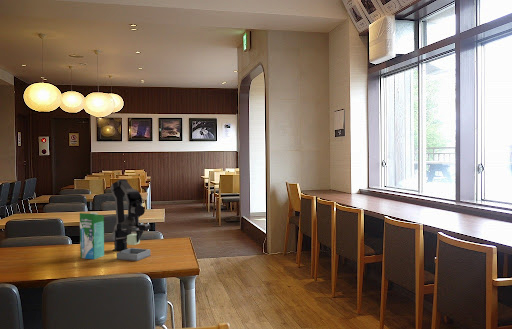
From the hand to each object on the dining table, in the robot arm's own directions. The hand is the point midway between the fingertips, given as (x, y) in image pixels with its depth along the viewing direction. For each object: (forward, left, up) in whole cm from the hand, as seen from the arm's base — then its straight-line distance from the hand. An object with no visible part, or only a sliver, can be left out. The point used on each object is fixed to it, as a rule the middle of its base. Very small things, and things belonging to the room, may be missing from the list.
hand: (133, 241), depth 256 cm
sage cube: (0, 0, -1) cm, 1 cm away
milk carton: (-22, -7, -9) cm, 25 cm away
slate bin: (0, 0, -9) cm, 9 cm away
